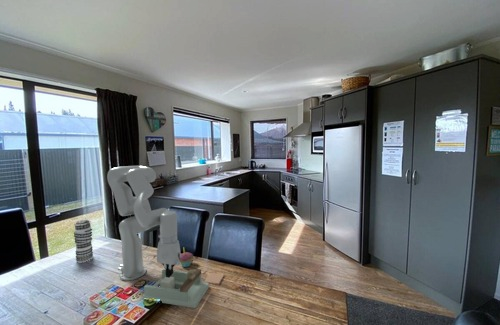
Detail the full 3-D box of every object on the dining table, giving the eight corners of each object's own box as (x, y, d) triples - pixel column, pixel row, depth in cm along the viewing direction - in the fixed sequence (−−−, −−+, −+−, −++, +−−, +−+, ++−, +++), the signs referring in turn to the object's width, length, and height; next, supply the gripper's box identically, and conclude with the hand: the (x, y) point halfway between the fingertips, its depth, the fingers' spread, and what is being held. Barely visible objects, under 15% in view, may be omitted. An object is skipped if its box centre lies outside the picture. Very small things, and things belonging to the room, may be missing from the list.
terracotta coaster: (203, 283, 106) (203, 281, 106) (210, 274, 114) (210, 272, 114) (218, 285, 105) (218, 283, 105) (224, 275, 112) (224, 274, 112)
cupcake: (188, 269, 119) (188, 249, 118) (175, 268, 120) (174, 248, 120) (195, 261, 127) (195, 242, 127) (183, 260, 129) (182, 241, 128)
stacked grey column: (92, 254, 139) (90, 217, 137) (94, 259, 132) (92, 220, 131) (75, 259, 132) (72, 220, 131) (75, 265, 126) (73, 224, 124)
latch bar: (180, 291, 90) (179, 280, 90) (195, 272, 104) (195, 262, 104) (186, 292, 89) (186, 281, 89) (201, 273, 103) (200, 263, 103)
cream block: (160, 294, 98) (160, 281, 97) (166, 288, 102) (166, 276, 102) (169, 295, 97) (168, 283, 97) (174, 289, 101) (174, 277, 101)
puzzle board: (142, 300, 94) (142, 286, 94) (162, 281, 108) (161, 269, 108) (195, 308, 89) (195, 293, 89) (208, 287, 103) (208, 274, 102)
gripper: (149, 240, 96) (150, 278, 97) (178, 243, 93) (179, 282, 94) (159, 233, 103) (160, 269, 104) (187, 236, 100) (187, 273, 101)
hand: (169, 275), depth 99 cm, fingers closed
